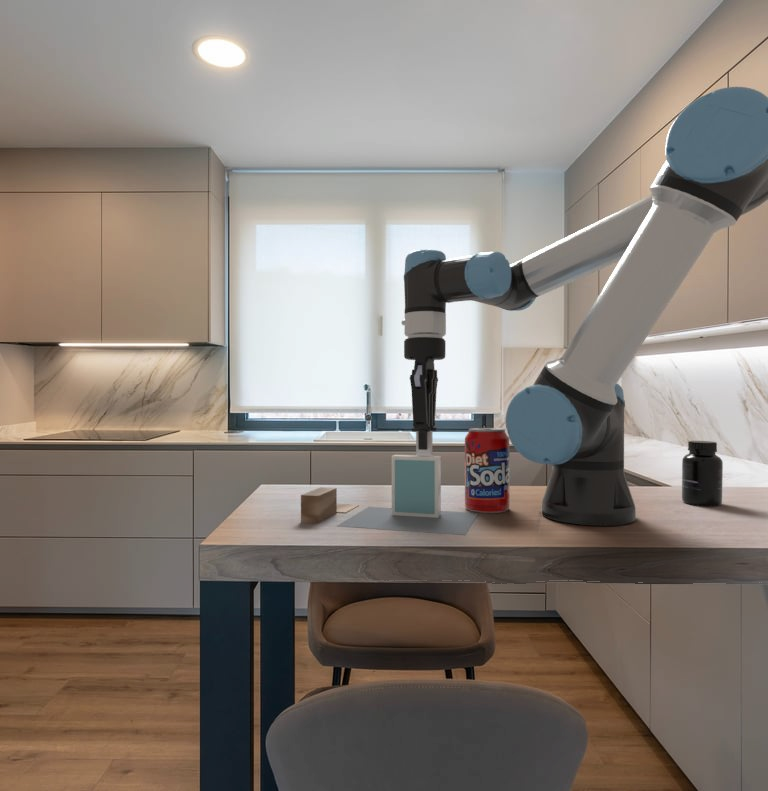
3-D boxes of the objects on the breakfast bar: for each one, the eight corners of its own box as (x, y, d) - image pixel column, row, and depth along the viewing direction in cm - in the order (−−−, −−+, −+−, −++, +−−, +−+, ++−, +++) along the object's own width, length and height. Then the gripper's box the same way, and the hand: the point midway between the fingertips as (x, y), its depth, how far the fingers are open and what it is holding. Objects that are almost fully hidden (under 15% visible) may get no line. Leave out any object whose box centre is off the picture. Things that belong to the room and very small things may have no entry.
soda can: (496, 506, 105) (496, 427, 105) (517, 515, 98) (517, 429, 98) (457, 509, 103) (457, 427, 103) (476, 518, 96) (476, 430, 96)
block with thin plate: (359, 509, 104) (358, 482, 104) (327, 527, 89) (326, 496, 89) (328, 507, 105) (328, 480, 105) (292, 525, 90) (292, 494, 90)
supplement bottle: (680, 504, 107) (680, 441, 107) (683, 499, 113) (683, 439, 113) (722, 508, 104) (722, 443, 104) (723, 502, 110) (722, 440, 110)
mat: (478, 516, 97) (478, 512, 97) (465, 538, 82) (465, 534, 82) (368, 509, 103) (368, 506, 103) (336, 529, 87) (336, 525, 87)
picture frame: (440, 514, 95) (440, 455, 95) (437, 517, 93) (437, 457, 93) (395, 512, 98) (395, 454, 98) (391, 515, 95) (391, 456, 95)
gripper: (413, 341, 110) (412, 462, 110) (395, 334, 97) (394, 471, 97) (451, 340, 107) (450, 463, 107) (438, 333, 95) (437, 472, 95)
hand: (424, 467), depth 102 cm, fingers closed
